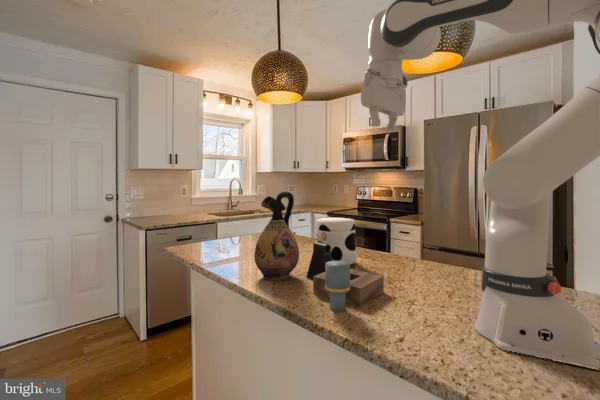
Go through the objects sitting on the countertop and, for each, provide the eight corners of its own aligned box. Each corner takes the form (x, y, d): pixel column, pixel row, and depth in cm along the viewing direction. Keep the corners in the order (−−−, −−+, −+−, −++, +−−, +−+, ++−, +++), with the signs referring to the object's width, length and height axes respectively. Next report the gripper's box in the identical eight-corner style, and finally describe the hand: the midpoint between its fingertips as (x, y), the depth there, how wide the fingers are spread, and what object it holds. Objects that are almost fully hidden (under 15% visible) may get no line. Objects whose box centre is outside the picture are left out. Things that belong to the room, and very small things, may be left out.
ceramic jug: (269, 287, 100) (268, 192, 98) (247, 275, 112) (245, 191, 110) (311, 277, 110) (311, 191, 108) (286, 267, 122) (286, 190, 120)
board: (383, 292, 95) (383, 275, 95) (360, 306, 85) (360, 288, 84) (338, 281, 106) (338, 266, 105) (313, 292, 95) (313, 276, 95)
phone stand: (317, 282, 105) (317, 246, 104) (306, 277, 110) (306, 243, 109) (337, 277, 110) (337, 243, 110) (325, 273, 115) (326, 240, 114)
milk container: (305, 264, 127) (304, 219, 126) (333, 256, 139) (333, 216, 138) (337, 273, 115) (337, 224, 113) (366, 264, 126) (366, 220, 125)
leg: (354, 307, 84) (354, 263, 83) (341, 316, 79) (341, 268, 78) (334, 301, 88) (334, 259, 87) (320, 309, 83) (320, 264, 82)
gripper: (378, 63, 75) (377, 121, 76) (410, 83, 91) (409, 131, 92) (354, 69, 79) (354, 124, 80) (389, 87, 95) (388, 133, 96)
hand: (383, 128), depth 86 cm, fingers open, 8 cm apart
